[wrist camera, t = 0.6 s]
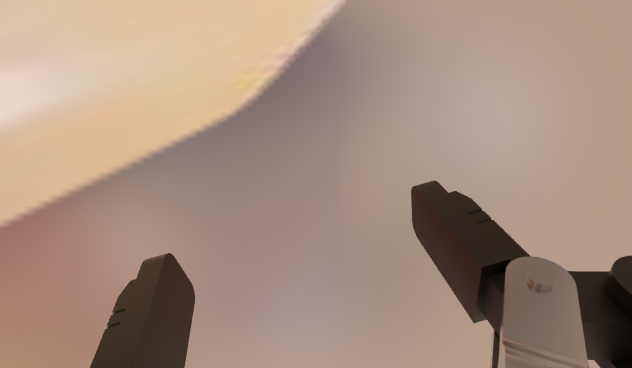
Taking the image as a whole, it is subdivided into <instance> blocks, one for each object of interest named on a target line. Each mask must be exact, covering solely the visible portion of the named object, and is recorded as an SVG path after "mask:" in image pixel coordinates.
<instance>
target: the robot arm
mask: <svg viewBox="0 0 632 368" xmlns="http://www.w3.org/2000/svg"><path fill="white" fill-rule="evenodd" d="M411 199H412V222H413V228H414V231H415V233H416V236H417V238H418V239H419V241H420V242H421V244H422V246H423V247H424V249H425V250H426V252H427V253H428V255H429V256H430V258H431V259H432V261H433V262H434V264H435V265H436V267H437V268H438V270H439V271H440V273H441V274H442V276H443V277H444V279H445V280H446V282H447V283H448V285H449V286H450V288H451V289H452V291H453V292H454V294H455V295H456V297H457V298H458V300H459V301H460V303H461V304H462V306H463V307H464V309H465V310H466V312H467V313H468V315H469V317H470V318H471V320H472V321H473V323H476V322H479V321H483V320H486V319H487V320H488V322H489V323H490V324H491V326H492V327H493V336H492V351H491V366H490V368H589V365H588V361H587V360H595V361H596V363H597V364H598V365H599V366H600V367H601V368H632V256H625V257H622V258H620V259H618V260H616V261H615V262H614V264H613V266H612V268H611V270H610V272H574V271H566V270H565V269H564V268H562V267H561V266H559V265H558V264H556V263H554V262H552V261H549V260H546V259H543V258H539V257H531V256H529V254H527V253H526V252H525V251H524V250H523V249H522V248H521V247H520V246H519V245H518V244H517V243H516V242H515V241H514V240H513V239H512V238H511V237H510V236H509V235H508V234H507V233H506V232H505V231H504V230H503V229H502V228H501V227H500V226H499V225H498V224H497V223H496V222H495V221H494V220H491V217H489V215H487V214H486V213H485V212H484V211H482V209H481V208H480V207H479V206H478V205H477V204H476V203H475V202H474V201H473V200H472V199H471V198H469V197H467V196H465V195H462V194H461V193H459V192H457V191H454V192H450V193H448V192H447V191H446V190H445V189H444V188H443V187H442V186H441V185H440V184H439V183H438V182H437V181H431V182H427V183H424V184H420V185H417V186H414V187H412V190H411ZM194 304H195V294H194V289H193V286H192V283H191V282H190V280H189V279H188V277H187V275H186V274H185V272H184V271H183V269H182V268H181V266H180V265H179V263H178V262H177V260H176V259H175V257H174V256H173V255H172V254H170V253H168V254H164V255H160V256H157V257H153V258H150V259H146V260H144V261H143V263H142V265H141V268H140V271H139V273H138V276H137V279H135V280H132V281H130V282H129V284H128V285H127V286H126V287H125V289H124V290H123V291H122V293H121V294H120V295H119V297H118V299H117V302H116V304H115V307H114V309H113V312H112V313H113V315H111V317H110V319H109V322H108V324H107V329H105V331H104V334H103V336H102V339H101V341H100V344H99V346H98V349H97V351H96V354H95V357H94V359H93V362H92V364H91V366H90V368H184V367H185V360H186V354H187V348H188V342H189V335H190V328H191V323H192V316H193V310H194Z"/></svg>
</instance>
